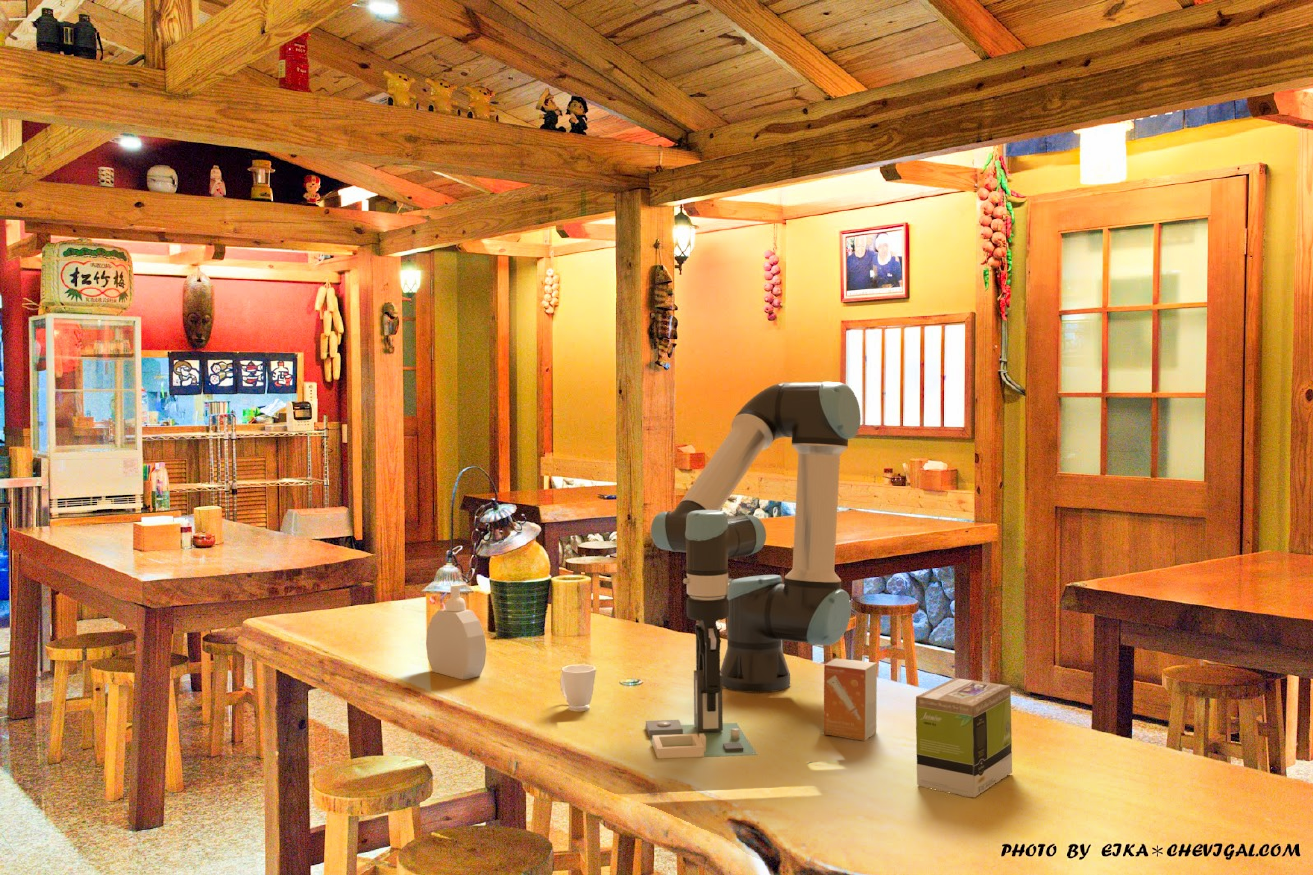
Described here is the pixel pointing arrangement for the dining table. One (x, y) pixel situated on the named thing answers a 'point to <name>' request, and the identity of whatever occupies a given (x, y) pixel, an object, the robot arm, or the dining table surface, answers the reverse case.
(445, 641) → the soap bottle
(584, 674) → the cup
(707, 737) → the board
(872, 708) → the small box
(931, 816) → the dining table surface
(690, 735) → the frame
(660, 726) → the grey push button
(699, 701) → the plug
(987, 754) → the tea box
